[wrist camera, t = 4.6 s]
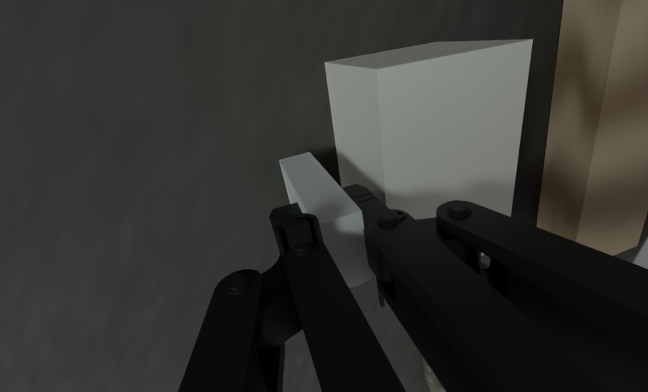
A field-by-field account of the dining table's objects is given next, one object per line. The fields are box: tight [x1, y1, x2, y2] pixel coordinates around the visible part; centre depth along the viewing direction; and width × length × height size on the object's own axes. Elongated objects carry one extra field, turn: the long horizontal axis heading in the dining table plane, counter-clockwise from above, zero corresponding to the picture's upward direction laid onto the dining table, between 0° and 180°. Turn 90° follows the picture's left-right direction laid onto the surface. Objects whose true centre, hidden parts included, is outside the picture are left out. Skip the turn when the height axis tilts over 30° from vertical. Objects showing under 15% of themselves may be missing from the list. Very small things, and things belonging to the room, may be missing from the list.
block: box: [325, 39, 533, 256], centre depth 16 cm, size 9×6×6 cm, turn 9°
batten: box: [536, 0, 648, 256], centre depth 19 cm, size 24×6×3 cm, turn 12°
